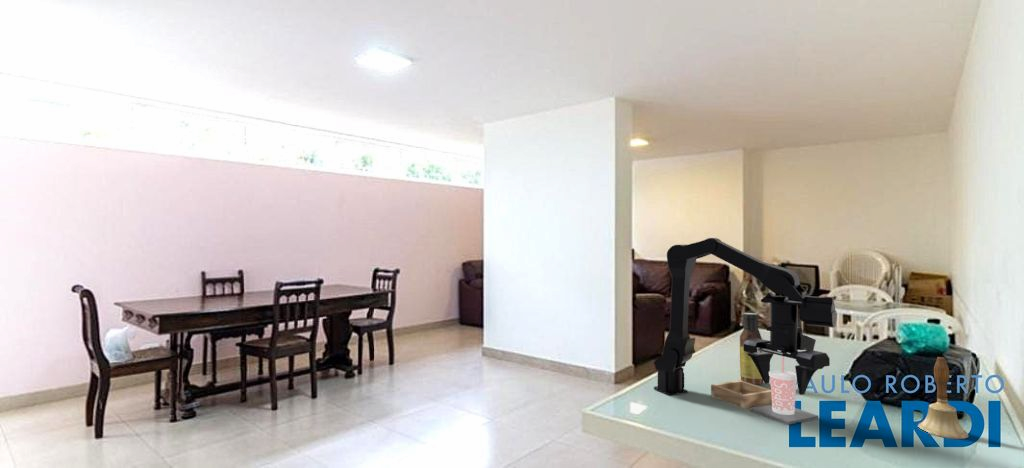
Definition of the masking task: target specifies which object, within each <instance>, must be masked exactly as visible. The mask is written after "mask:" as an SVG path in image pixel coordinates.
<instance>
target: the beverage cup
mask: <svg viewBox="0 0 1024 468" xmlns="http://www.w3.org/2000/svg"><path fill="white" fill-rule="evenodd" d="M769 376H770V380H769V383H770V390H771V397H772V403H771V404H772V411H774V412H776V413H778V414H783V415H793V414H794V410H795V408H796V393H797V392H796V391H797V376H796V372H793V371H789V370H788V371H787V370H785V356H781V370H780V369H776V370H774V369H773V370H770V371H769Z"/></svg>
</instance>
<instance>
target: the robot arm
mask: <svg viewBox="0 0 1024 468" xmlns="http://www.w3.org/2000/svg"><path fill="white" fill-rule="evenodd" d="M710 255H712V256H714V257H716V258H718V259H720V260H722V261H724V262H725V263H728V264H730V265H732V266H734V267H736V268H737V269H739V270H742V271H743V272H745V273H748V274H749V275H751V276H752V277H754V278H755V279H756V280H757V281H759V283H760V284H762V285H763V286H765V288H766V289H768V290H769V291H771V292H767V294H766V295H765V296H764V297H763V298H761V299H760V302H761V303H768V304H769V305H770V307H769V314H770V315H769V317H770V318H769V319H770V320H769V323H770V324H769V325H766V326H765V327H766V329H765V330H766V331H767V332H768V331H769V335H770V336H769V337H770V338H769V340H767V339H763V338H762V339H750V340H746V341H745V343H744V344H743V351H745V352H749V353H748V356H750V357H751V359H752V360H753V362H754V364H755V365H756V367H757V369H758V371H759V373H760V375H761V377H762V379H763V384H764V385H769V384H770V376H769V371H771V361H772V358H773V356H774V355H777V356H781V357H782V356H784V358H790V359H793V360H795V361H796V363H797V364H798V365H795V366H794V368H795V373H796V376H797V380H796V385H797V389H798V393H799V395H802V396H803V395H805V394H806V391H807V389H808V387H809V384H810V382H811V379H812V378H813V376H814V374H815V373H816V372H817V371H818V370H823V369H824V368H825V367H830V364H831V362H830V361H831V360H830V357H829V355H828V353H827V352H822V351H818V350H815V345H816V341H817V340H816V338H812V337H810V336H808V335H805V334H803V328H802V327H799V326H798V325H799V324H798V317H799V320H800V321H801V322H803V323H804V325H806V326H815V327H822V328H823V327H826V328H831V329H833V328H835V327H836V322H837V310H836V305H835V298H834V297H833V296H811V295H810V294H809V293H808V292H807V291H806V289H805V288H804V287H803V285H802V284H800V277H799V274H798V273H797V272H796V271H794V270H792V269H789V268H786V267H782V266H779V265H775V264H772V263H767V262H764V261H762V260H760V259H758V258H755V257H754V256H752V255H750V254H748V253H746V252H744V251H742V250H740V249H738V248H736V247H734V246H732V245H730V244H727V243H726V242H724V241H722V240H721V239H719V238H717V237H707V238H705V239H703V240H700V241H696V242H693V243H689V244H674V245H672V246H670V247H669V249H667V252H666V260H667V261H666V262H667V268H668V271H669V274H670V276H671V295H670V318H669V319H670V320H669V331H668V333H667V336H666V337H665V340H664V343H663V349H662V354H661V355H659V356H658V357H657V358H656V359H655V360H654V362H653V365H654V367H655V370H656V371H657V385H656V386H653V389H654V390H656V391H659V392H661V393H664V394H666V395H668V396H673V395H678V394H685V393H688V389H685V373H684V367H685V366H686V364H687V362H688V361H689V360H691V359H692V357H693V354H695V353H696V350H695V344H696V338H695V337H690V334H689V330H688V328H689V325H688V324H689V309H690V308H689V307H690V305H689V304H690V285H691V284H690V283H691V281H690V280H691V277H692V274H693V273H694V270H695V266H696V263H697V260H698V259H701V258H704V257H707V256H710ZM774 294H776V295H774ZM789 299H790V300H789ZM798 306H799V307H798ZM798 308H799V309H798Z"/></svg>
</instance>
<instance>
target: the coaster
mask: <svg viewBox="0 0 1024 468" xmlns="http://www.w3.org/2000/svg"><path fill="white" fill-rule="evenodd" d="M750 411H751V412H754V413H757V414H759V415H762V416H764V417H768V418H770V419H772V420H776V421H777V422H780V423H783V424H786V425H794V424H797V423H796V422H799V423H802V422H807V421H808V422H809V421H813V420H816V419H819V415H818V414H815V413H811V412H808V411H806V410H803V409H800V408H796V407H795V410H794V414H793V415H783V414H778V413H776V412H774V411H772V403H771V404H766V405H760V406H755V407H750Z"/></svg>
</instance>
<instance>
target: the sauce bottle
mask: <svg viewBox="0 0 1024 468" xmlns="http://www.w3.org/2000/svg"><path fill="white" fill-rule="evenodd" d="M742 319H743V330H742V332H740V335H739V346H738V347H739V376H740V380H741V381H744V382H747V383H751V384H754V385H757V386H760V385H763V384H764V381H763V379H762V377H761V375H760V373H759V371H758V369H757V367H756V365H755V364H754V362H753V360H752V359H751V357H750V356H748V353H749V352H745V351H743V344H744V343H745V341H746V340H750V339H763V338H762V336H761V332H760V330H759V324H758V321H759V314H758V313H755V312H743V313H742Z"/></svg>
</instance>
